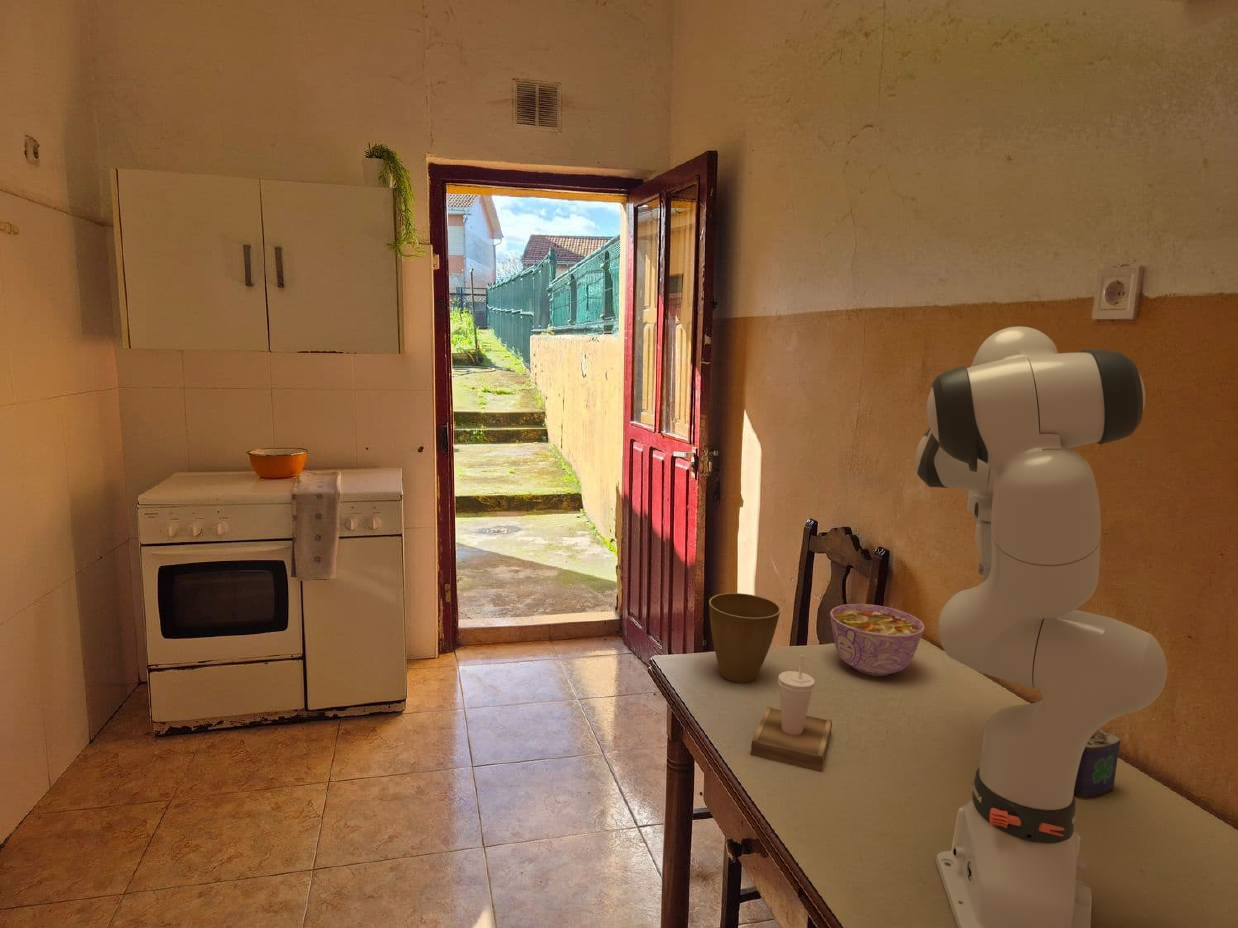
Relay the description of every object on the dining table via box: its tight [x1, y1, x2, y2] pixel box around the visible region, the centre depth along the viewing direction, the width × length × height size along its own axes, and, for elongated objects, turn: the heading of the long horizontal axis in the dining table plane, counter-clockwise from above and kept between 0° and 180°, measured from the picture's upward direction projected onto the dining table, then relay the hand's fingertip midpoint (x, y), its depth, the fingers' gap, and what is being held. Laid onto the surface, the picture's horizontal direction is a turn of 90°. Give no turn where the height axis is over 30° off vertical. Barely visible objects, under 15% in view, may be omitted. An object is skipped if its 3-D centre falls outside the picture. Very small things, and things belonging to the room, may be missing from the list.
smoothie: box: [777, 654, 815, 735], centre depth 137 cm, size 6×6×14 cm
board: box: [750, 706, 833, 772], centre depth 138 cm, size 14×12×3 cm
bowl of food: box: [829, 603, 926, 677], centre depth 172 cm, size 20×20×12 cm
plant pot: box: [708, 592, 781, 684], centre depth 164 cm, size 15×15×16 cm
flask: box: [1073, 728, 1121, 800], centre depth 127 cm, size 9×3×11 cm, turn 114°
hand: (985, 581), depth 136 cm, fingers open, 8 cm apart
